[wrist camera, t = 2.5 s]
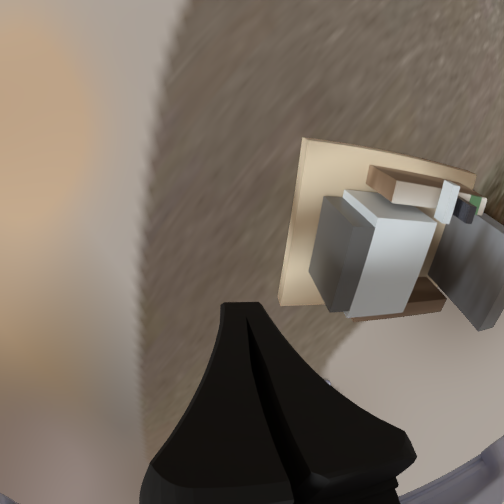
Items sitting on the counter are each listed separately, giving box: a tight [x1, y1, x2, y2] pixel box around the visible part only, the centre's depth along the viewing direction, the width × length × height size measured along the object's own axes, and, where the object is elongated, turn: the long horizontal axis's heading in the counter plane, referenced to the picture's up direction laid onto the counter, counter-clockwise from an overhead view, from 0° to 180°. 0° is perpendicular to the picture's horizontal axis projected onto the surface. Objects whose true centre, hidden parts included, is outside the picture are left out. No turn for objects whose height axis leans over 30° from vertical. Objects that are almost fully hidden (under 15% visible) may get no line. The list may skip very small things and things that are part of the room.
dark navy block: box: [453, 196, 477, 224], centre depth 14 cm, size 1×1×2 cm, turn 174°
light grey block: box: [308, 180, 460, 318], centre depth 16 cm, size 8×6×4 cm
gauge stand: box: [278, 137, 504, 331], centre depth 17 cm, size 11×14×8 cm
